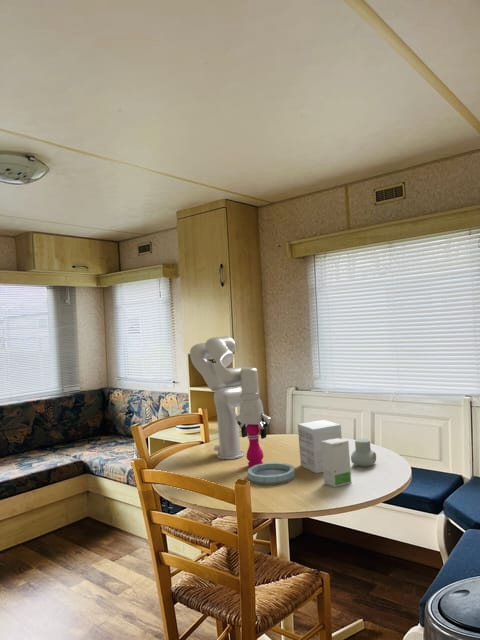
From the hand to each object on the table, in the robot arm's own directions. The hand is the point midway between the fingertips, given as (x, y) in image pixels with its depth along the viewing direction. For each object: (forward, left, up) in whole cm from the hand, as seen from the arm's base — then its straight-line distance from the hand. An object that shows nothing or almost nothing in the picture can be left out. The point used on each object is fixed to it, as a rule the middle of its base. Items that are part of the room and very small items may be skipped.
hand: (254, 437), depth 204 cm
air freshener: (+41, +18, -13) cm, 46 cm away
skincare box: (+40, -6, -13) cm, 42 cm away
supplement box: (+26, +10, -13) cm, 30 cm away
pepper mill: (0, 0, -13) cm, 13 cm away
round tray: (+14, -10, -12) cm, 21 cm away
